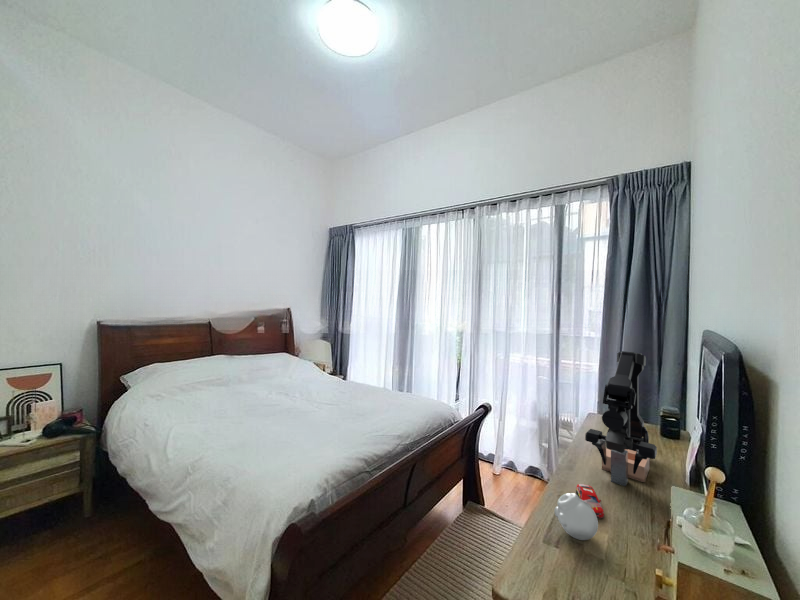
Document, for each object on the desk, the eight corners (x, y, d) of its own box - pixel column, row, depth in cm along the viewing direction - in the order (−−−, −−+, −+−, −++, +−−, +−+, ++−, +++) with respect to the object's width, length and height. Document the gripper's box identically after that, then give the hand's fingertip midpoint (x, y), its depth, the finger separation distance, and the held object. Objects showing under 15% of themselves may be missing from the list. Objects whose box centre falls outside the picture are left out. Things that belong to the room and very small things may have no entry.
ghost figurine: (562, 517, 85) (562, 480, 85) (602, 536, 78) (602, 496, 78) (548, 533, 79) (548, 493, 79) (591, 556, 72) (591, 512, 72)
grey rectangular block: (613, 476, 106) (613, 447, 106) (627, 481, 103) (627, 450, 103) (610, 481, 103) (610, 450, 103) (625, 486, 100) (625, 455, 100)
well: (609, 457, 119) (609, 444, 119) (649, 469, 111) (649, 455, 111) (601, 469, 111) (601, 454, 111) (644, 482, 102) (644, 467, 103)
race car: (606, 523, 84) (606, 508, 84) (582, 518, 86) (582, 503, 86) (594, 495, 96) (594, 482, 96) (574, 491, 98) (574, 478, 98)
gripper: (580, 420, 104) (580, 467, 104) (652, 437, 91) (652, 491, 91) (589, 412, 112) (589, 456, 112) (656, 426, 99) (657, 476, 99)
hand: (619, 468), depth 103 cm, fingers open, 8 cm apart
